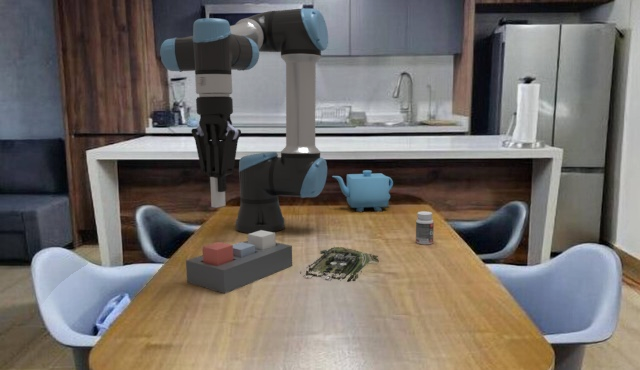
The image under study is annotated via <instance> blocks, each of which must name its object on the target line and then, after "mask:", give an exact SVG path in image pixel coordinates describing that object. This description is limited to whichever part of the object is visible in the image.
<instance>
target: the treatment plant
mask: <svg viewBox="0 0 640 370" xmlns="http://www.w3.org/2000/svg"><path fill="white" fill-rule="evenodd" d="M319 253H320V254H322V255H321V256H320V257H317V258H316V260H315V261H314V262H313V263H311V264H308V265H307V266H306V268H305V274H304V275H303V276H302V277H303V278H304V279H312V278H313V277H316V278H318V277H319V278H322V279H325V280H329V281H332V280H333V279H335V280H338V281H339V282H342V280H344V279H345V280H346V278H347V276H349V277H348V278H347V282H349V281H350V280H351V279H352V280H351V281H353V282H354V281H356V280H357V279H358V278H359V274H357V273H359V272H360V274H362V275H365V274H364V273H362V269H363V268H365V267H366V266H368V265H370V266H371V265H372V266H376V265H378V263H379V261H380V260H379V259H378V257H379V255H374V254H372V253H368V252H364V251H360V250H357V249H352V248H346V247H344V246H343V247H342V246H340V247H339V246H333V247H331V248H329V249H323V250H320V252H319ZM307 269H308V270H307ZM312 272H313V273H312ZM297 273H299V274H301V273H302V270H300V271H299V272H297ZM317 273H318V274H317ZM328 274H331V275H328ZM337 275H339V276H337ZM353 277H354V278H353ZM340 279H341V280H340Z"/></svg>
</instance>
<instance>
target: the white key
mask: <svg viewBox="0 0 640 370" xmlns="http://www.w3.org/2000/svg"><path fill="white" fill-rule="evenodd" d="M247 241H248V244H252V245H255V249H259V250H265V249H268V248H271V247H274V246H276V243H277V242H276V232H268V231H263V230H260V231H257V232H254V233H247Z"/></svg>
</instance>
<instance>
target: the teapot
mask: <svg viewBox="0 0 640 370" xmlns="http://www.w3.org/2000/svg"><path fill="white" fill-rule="evenodd" d="M372 172H373V171H372V170H368V169H366V170H362V173H349V174H348V173H347V174H346V184H345V181H344V180H343V178H342V177H341V176H339V175H332V176H331V177H332V178H334V179H335V180H336V181H338V184H339V187H340V191H341V193H342V194H343V195H344V197H346V202H347V204H348V205H349V206H350V208H353V209H355V212H357V213H361V212H362V211H363V212H364V210H365V208H373V210H374V212H383V209H382V208H385V207H386V208H388V207H389V206H390V205H389V204H390V203H389V202H390V201H389V200H390V199H391V194H390V190H391V189H392V188H393V185H394V181H393V179H392V178H391V177H390V176H387V175H385V174H383V173H379V172H378V173H372Z"/></svg>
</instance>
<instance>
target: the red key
mask: <svg viewBox="0 0 640 370" xmlns="http://www.w3.org/2000/svg"><path fill="white" fill-rule="evenodd" d="M202 255H203V262H204V263H208V264H211V265H215V266H219V265H222V264H225V263H228V262H231V261H233V244H229V243H225V242H220V241H217V242H213V243H211V244H207V245H203V246H202Z"/></svg>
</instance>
